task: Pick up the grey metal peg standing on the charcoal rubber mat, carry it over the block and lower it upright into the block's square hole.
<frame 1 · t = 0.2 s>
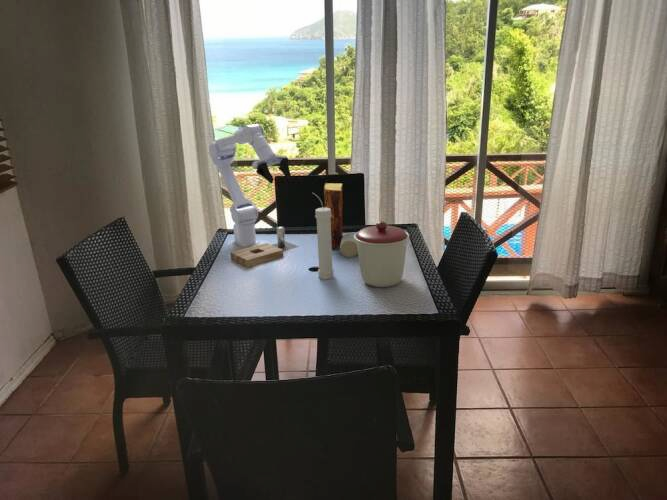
hand: (281, 179, 201), 31 cm above the table, tool tilted 45°, fingers open, 7 cm apart
mat: (281, 247, 224), on the table
white tall cylinder: (325, 277, 193), on the table
block: (257, 258, 213), on the table
peg: (281, 246, 224), resting on mat
canister: (382, 282, 187), on the table
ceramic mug: (354, 255, 213), on the table
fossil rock: (335, 243, 227), on the table
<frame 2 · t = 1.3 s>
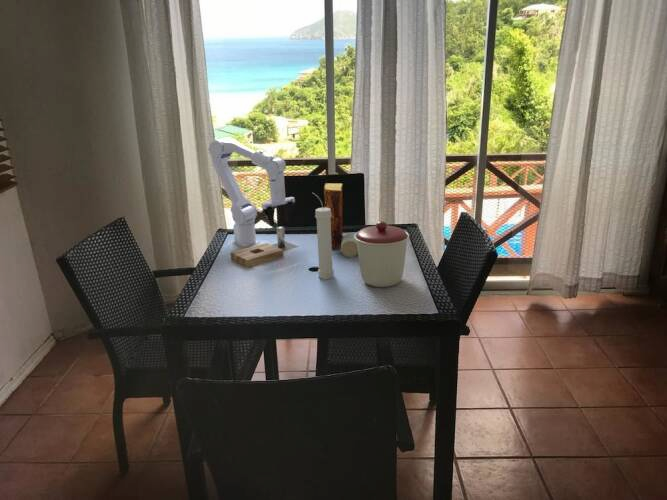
hand: (279, 222, 221), 10 cm above the table, tool pointing down, fingers open, 7 cm apart
nothing on the table moved.
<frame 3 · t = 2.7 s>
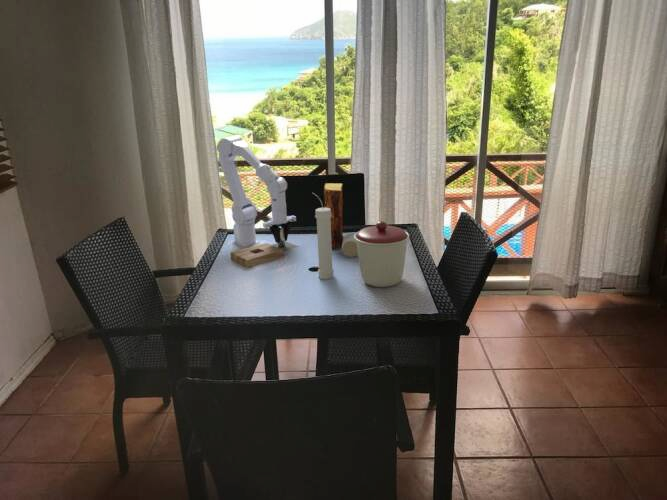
hand: (281, 241, 223), 3 cm above the table, tool pointing down, fingers closed on peg, 3 cm apart
peg: (281, 246, 224), resting on mat, touching gripper
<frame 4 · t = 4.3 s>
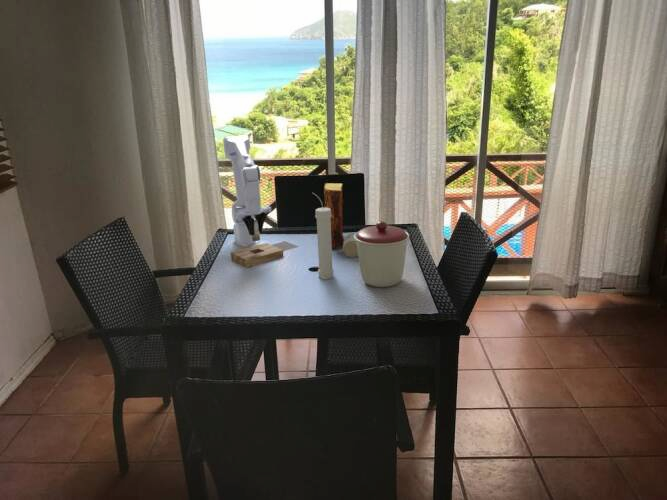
hand: (255, 233, 210), 10 cm above the table, tool pointing down, fingers closed on peg, 3 cm apart
peg: (256, 239, 211), point 8 cm above the table, touching gripper
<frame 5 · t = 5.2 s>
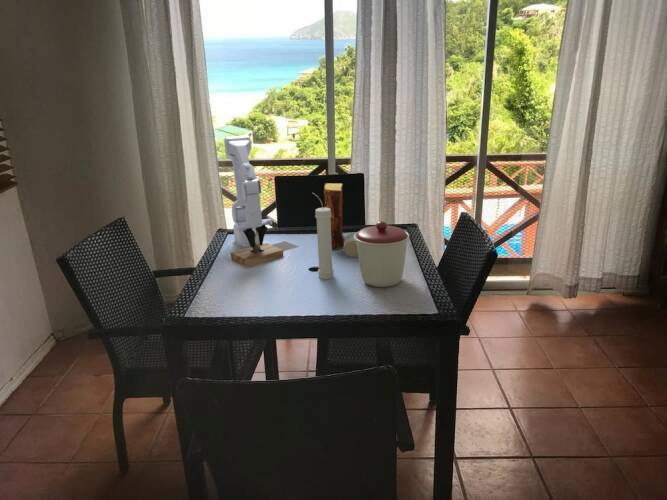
hand: (256, 245, 211), 5 cm above the table, tool pointing down, fingers closed on peg, 3 cm apart
peg: (256, 251, 212), point 3 cm above the table, touching gripper
when the fingers open (3 cm above the table, at t = 5.9 s): peg drops 1 cm, resting in block.
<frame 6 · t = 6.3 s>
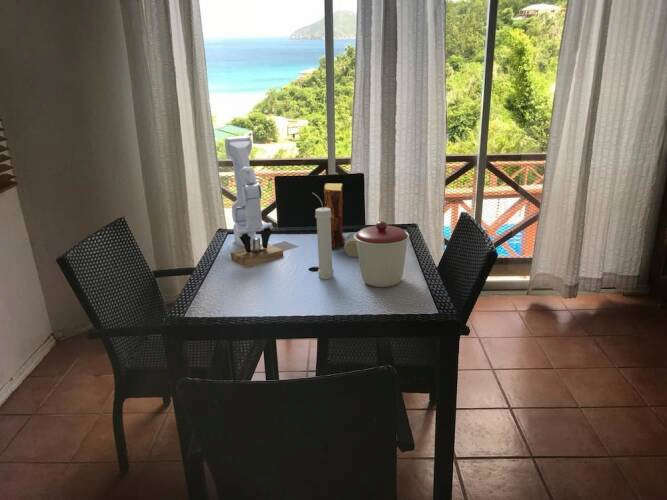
hand: (256, 250, 212), 3 cm above the table, tool pointing down, fingers open, 7 cm apart
peg: (257, 258, 213), resting in block
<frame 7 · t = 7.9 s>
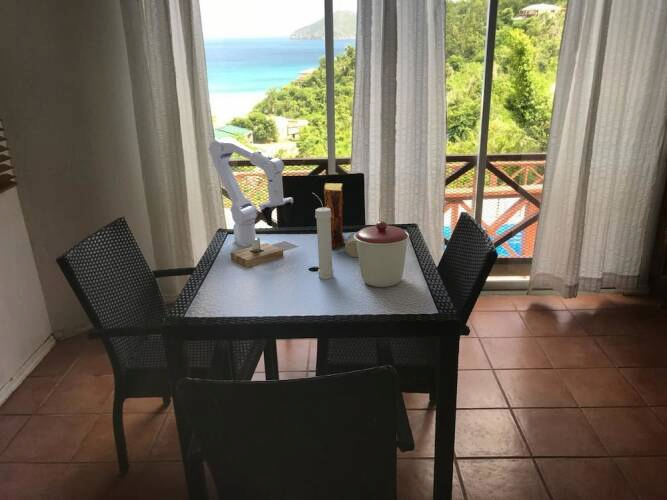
hand: (278, 223, 220), 10 cm above the table, tool pointing down, fingers open, 7 cm apart
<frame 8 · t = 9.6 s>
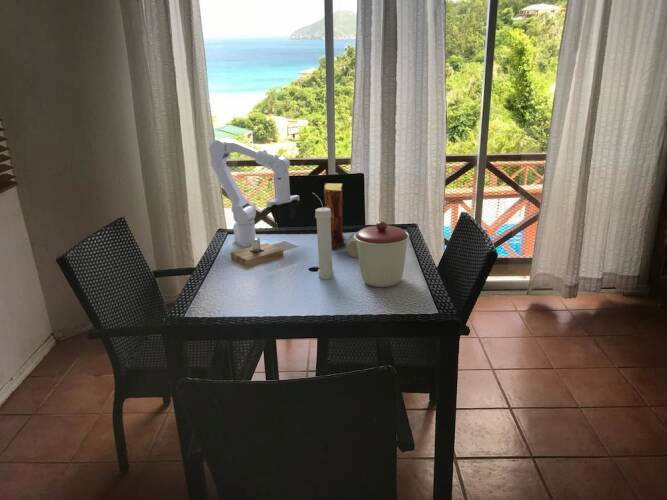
hand: (284, 220, 223), 10 cm above the table, tool pointing down, fingers open, 7 cm apart
at the end: peg 0.0 cm off-centre on the block, point 0.0 cm above the block's base; peg tilted 0°; the gripper is holding nothing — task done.
